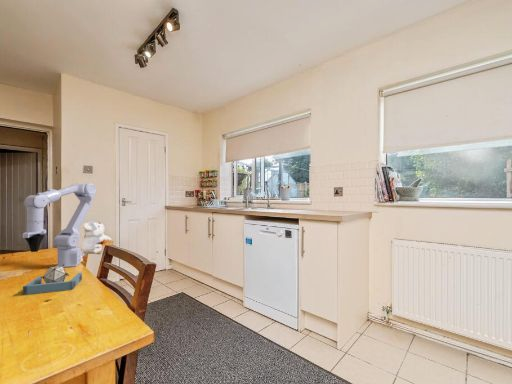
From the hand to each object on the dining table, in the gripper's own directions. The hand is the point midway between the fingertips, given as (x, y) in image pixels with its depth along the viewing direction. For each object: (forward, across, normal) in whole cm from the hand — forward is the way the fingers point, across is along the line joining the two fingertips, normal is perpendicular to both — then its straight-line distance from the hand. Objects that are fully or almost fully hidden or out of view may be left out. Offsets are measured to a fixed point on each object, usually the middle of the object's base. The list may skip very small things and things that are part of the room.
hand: (34, 251), depth 113 cm
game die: (+11, -19, -16) cm, 27 cm away
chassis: (+11, -20, -16) cm, 27 cm away
